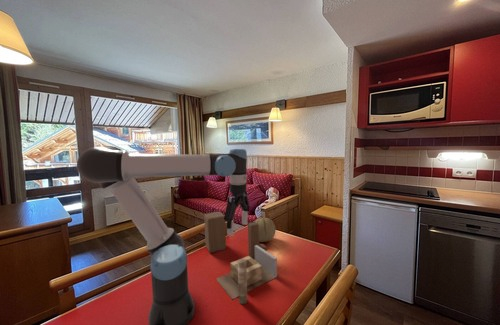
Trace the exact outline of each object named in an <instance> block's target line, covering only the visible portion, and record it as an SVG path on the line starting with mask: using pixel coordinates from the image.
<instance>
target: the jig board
mask: <svg viewBox="0 0 500 325" xmlns="http://www.w3.org/2000/svg"><path fill="white" fill-rule="evenodd" d="M278 277H279V275H278V274H277V277H275V278H274V277H273V276H271V275H270V274H269V273H268V272H266V271H265V270H264V269H263V268H262V280H260V281H258V282H256V283H254V284H252V285H250V286H248V287H247V293H249V292H251V291H253V290H254V289H256V288H258V287H260V286H263V285H264V284H267V283H268V282H270V281H272V280H274V279H277V278H278ZM215 280H216V281H217V282H218V284H219V285H220V287H222V289H223V290H224V291H225V292H226V294H227V295H228V296H229V297H230V299H232V300H236V299H237V298H239V285H238V283H237V282H236V281H235V280H234V279H233V278H232V277H231V272H228V273H226V274H225V275H222V276H219V277H217V278H215Z"/></svg>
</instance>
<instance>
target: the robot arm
mask: <svg viewBox="0 0 500 325" xmlns="http://www.w3.org/2000/svg"><path fill="white" fill-rule="evenodd" d="M247 163H248V156H247V150H246V149H244V148H231V149H230V150H229V153H204V154H184V153H183V154H182V153H181V154H179V153H178V154H175V153H174V154H172V153H171V154H170V153H169V154H168V153H129V152H128V151H127V150H123V149H121V148H119V147H117V146H116V147H115V146H113V145H112V146H111V145H110V146H109V145H107V146H106V145H105V146H93V147H90V148H87V149H85V150H84V151H82V153H81V154H80V155H79V156H78V159H77V160H76V169H77V172H78V173H79V175H80V176H81V177H82V178H83V179H84V180H86V181H88V182H91V183H95V184H99V185H100V187H102V189H103V190H105V191H110V192H111V193H112V194H113V196H114V197H115V198H116V200H117V201H118V203H119V204H120V205H121V207H122V208H123V211H125V213H126V214H127V215H128V217H129V218H130V220H131V221H132V223H133V224H134V226H136V228H137V229H138V232H139V233H140V234H141V235H142V237H143V238H144V240H145V241H146V242H147V243H146V246H145V248H146V250H147V251H148V253H149V255H150V256H151V258H150V264H149V269H150V273H151V288H152V290H151V291H152V303H151V306H150V310H149V314H148V325H188V324H189V323H190V322H191V321H192V319H193V317H194V316H195V302H194V299H193V297H192V295H191V293H190V290H189V278H188V277H189V274H188V255H187V251H186V245H185V241H184V239H183V237H182V236H181V235H180V234H178V233H177V232H176V231H175V229H174V228H173V227H168V226H167V225H166V224H165V222H164V220H163V218H162V216H161V215H159V213H158V211H157V210H156V209H155V207H154V206H153V204H152V202H151V201H150V200H149V198H148V196H147V195H146V194H145V192H144V190H143V189H142V188H141V186H140V184H139V183H138V181H137V180H136V179H135V178H158V177H160V178H162V177H190V176H192V177H194V176H198V177H199V176H221V177H229V183H230V184H229V193H231V196H228V197H227V203H226V208H225V212H224V214H223V215H224V220H225V222H226V236H230V237H233V236H234V217H235V213H236V210H237V208H238V207H239V205H240V207H241V209H242V211H241V225H243V226H248V220H249V219H248V215H249V214H248V213H249V212H250V208H251V207H250V202H249V199H248V192H247V184H246V183H247V179H248V176H247V171H248V170H247Z"/></svg>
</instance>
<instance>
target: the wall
mask: <svg viewBox="0 0 500 325" xmlns="http://www.w3.org/2000/svg"><path fill="white" fill-rule="evenodd" d="M254 260H255V261H256V262H258V263H259V264H260V265H261V266H262V268H263V269H264V270H265V271H266V272H268V273H269V274H270V275H271V276H273V277H274V279H276V278H278V277H277V275H278V257H276V256H275V255H273V254H271V253H270V252H268V250H267V251H265V250H264V249H262V248H261V247H259V246H258V245H255V258H254ZM275 277H276V278H275Z"/></svg>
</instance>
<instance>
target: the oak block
mask: <svg viewBox="0 0 500 325" xmlns="http://www.w3.org/2000/svg"><path fill="white" fill-rule="evenodd" d="M240 259H245V260H246V270H247V287H248V286H250V285H252V284H254V283H256V282H258V281H260V280H262V266H261V265H260V264H259V263H258V262H256V261H255V258H253V259H252V258H251V257H250V256H249V255H246V256H244V257H242V258H239V259H236V260H235V261H232V262H230V273H231V277H232V278H233V279H234V280H235V281H236V282H237V283H238V260H240Z"/></svg>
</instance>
